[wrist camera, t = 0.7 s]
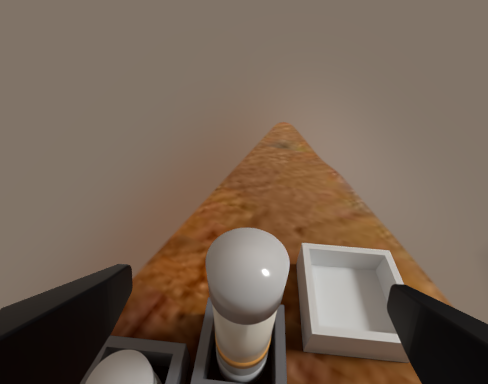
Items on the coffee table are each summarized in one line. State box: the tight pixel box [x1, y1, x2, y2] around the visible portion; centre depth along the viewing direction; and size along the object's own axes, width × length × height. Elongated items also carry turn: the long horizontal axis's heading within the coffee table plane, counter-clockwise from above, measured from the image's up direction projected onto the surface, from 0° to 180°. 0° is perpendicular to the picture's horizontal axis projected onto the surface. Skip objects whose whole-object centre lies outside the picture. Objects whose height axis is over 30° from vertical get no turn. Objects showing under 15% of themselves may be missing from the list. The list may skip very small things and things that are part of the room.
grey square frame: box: [191, 298, 287, 384], centre depth 19 cm, size 6×6×3 cm
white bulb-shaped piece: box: [206, 228, 290, 384], centre depth 16 cm, size 4×4×13 cm
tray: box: [296, 243, 410, 363], centre depth 22 cm, size 8×8×4 cm
